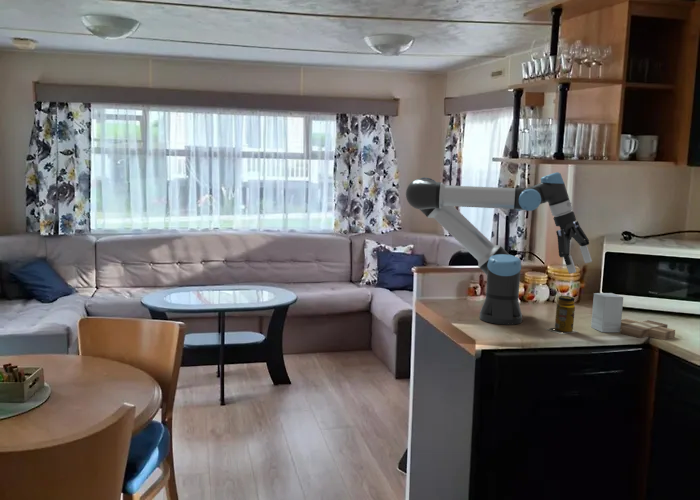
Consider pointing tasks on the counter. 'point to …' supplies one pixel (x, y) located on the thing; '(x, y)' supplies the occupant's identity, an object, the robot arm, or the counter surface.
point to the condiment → (564, 315)
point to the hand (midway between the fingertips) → (580, 267)
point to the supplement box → (607, 312)
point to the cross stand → (646, 329)
